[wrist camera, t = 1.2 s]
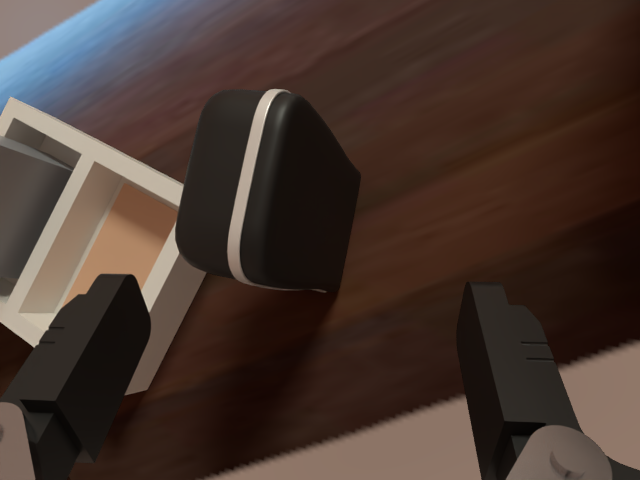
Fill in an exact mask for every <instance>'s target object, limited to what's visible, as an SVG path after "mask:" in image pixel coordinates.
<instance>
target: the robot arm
mask: <svg viewBox="0 0 640 480" xmlns="http://www.w3.org/2000/svg"><path fill="white" fill-rule="evenodd" d="M150 333H151V318H150V315H149V312H148V309H147V306H146V304H145V301H144V298H143V295H142V292H141V290H140V287H139V284H138V281H137V279H136V277H135V276H134V275H132V274H100V275H98V276H97V277H96V279H95V280H94V282H93V284H92V285H91V287H90V288H89V290H88V291H87V293H86V294H78V295H77V296H76V297H74V298H73V299H72V300H71V301H70V302H68V303H67V304H66V305H65V306H63V307H62V308H61V309H60V310H59V312H58V313H57V315H56V316H55V318H54V319H53V321H52V322H51V324H50V325H49V329H48V330H46V331H45V333H44V334H43V336H42V337H41V339H40V340H39V345H36V346H35V348H34V349H33V351H32V352H31V354H30V355H29V357H28V358H27V360H26V361H25V363H24V364H23V366H22V367H21V369H20V370H19V372H18V373H17V375H16V376H15V378H14V379H13V381H12V382H11V384H10V385H9V387H8V388H7V390H6V391H5V393H4V394H3V396H2V397H1V398H0V480H70V478H69V474H70V472H71V470H72V468H73V465H74V463H75V462H83V463H95V461H96V459H97V456H98V454H99V452H100V449H101V447H102V445H103V443H104V440H105V438H106V436H107V434H108V431H109V429H110V427H111V425H112V422H113V420H114V418H115V416H116V413H117V411H118V409H119V407H120V404H121V402H122V400H123V398H124V395H125V393H126V391H127V389H128V386H129V384H130V382H131V379H132V377H133V375H134V373H135V370H136V368H137V366H138V364H139V361H140V359H141V357H142V355H143V352H144V350H145V348H146V346H147V343H148V341H149V338H150ZM457 351H458V357H459V362H460V367H461V373H462V378H463V383H464V388H465V394H466V399H467V404H468V410H469V415H470V420H471V425H472V431H473V436H474V441H475V446H476V452H477V457H478V462H479V468H480V473H481V479H482V480H640V471H639V470H637V469H634V468H631V467H628V466H625V465H623V464H620V463H618V462H616V461H614V460H612V459H611V458H609V457H608V456H606V455H605V454H604V452H603V451H602V450H601V448H600V447H599V446H598V445H597V444H596V443H595V442H594V441H593V440H591V439H590V438H589V437H587V436H586V435H584V433H583V432H582V430H581V428H580V426H579V424H578V421H577V419H576V416H575V413H574V411H573V408H572V405H571V403H570V400H569V397H568V395H567V392H566V389H565V387H564V384H563V381H562V379H561V376H560V373H559V371H558V368H557V366H556V363H554V358H553V355H552V352H551V350H550V347H549V346H548V342H547V339H546V336H545V334H544V331H543V328H542V326H541V323H540V322H539V321H538V320H537V319H536V317H535V316H534V315H533V314H532V313H531V312H530V311H529V310H528V309H527V308H526V307H525V305H509V304H508V301H507V298H506V295H505V291H504V288H503V286H502V284H501V283H500V282H467V283H466V285H465V289H464V294H463V299H462V304H461V309H460V314H459V319H458V324H457Z"/></svg>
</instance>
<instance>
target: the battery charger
mask: <svg viewBox="0 0 640 480" xmlns="http://www.w3.org/2000/svg"><path fill="white" fill-rule="evenodd" d="M360 180H361V174H360V172H359V171H358V170H357V169H356V168H355V167H354V165H353V164H352V163H351V161H350V160H349V159H348V157H347V156H346V154H345V152H344V151H343V149H342V147H341V146H340V144H339V143H338V141H337V139H336V138H335V136H334V135H333V133H332V132H331V130H330V129H329V127H328V126H327V125H326V123H325V122H324V120H323V119H322V118H321V117H320V115H319V114H318V113H317V112H316V110H315V109H314V108H313V107H312V106H311V104H310V103H309V102H308V101H307V100H305V99H304V98H303V97H301V96H300V95H298V94H292V93H290V92H289V91H287V90H280V89H272V90H269V91H255V90H223V91H220V92H218V93H216V94H215V95H213V96H212V97H211V98H210V99H209V100H208V101H207V103H206V104H205V106H204V108H203V110H202V112H201V115H200V119H199V122H198V126H197V130H196V134H195V138H194V143H193V147H192V151H191V155H190V159H189V163H188V167H187V172H186V177H185V181H184V186H183V191H182V196H181V200H180V205H179V210H178V214H177V220H176V226H175V241H176V244H177V248H178V250H179V253H180V255H181V256H182V257H183V258H184V260H185V261H186V262H187V263H189V264H190V265H191V266H193V267H195V268H197V269H199V270H201V271H204V272H207V273H210V274H214V275H218V276H222V277H227V278H232V279H237V280H238V281H240V282H242V283H244V284H249V285H253V286H258V287H263V288H268V289H275V290H316V291H319V292H324V293H325V292H327V291H328V292H336V291H337V290H338V289H339V286H340V282H341V277H342V272H343V267H344V262H345V257H346V252H347V247H348V242H349V237H350V232H351V227H352V222H353V217H354V211H355V206H356V201H357V196H358V190H359V185H360Z"/></svg>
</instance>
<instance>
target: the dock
mask: <svg viewBox="0 0 640 480" xmlns="http://www.w3.org/2000/svg"><path fill="white" fill-rule="evenodd" d="M183 186H184V184H182V183H180V182H178V181H176V180H174V179H172V178H170V177H168V176H167V175H165V174H163V173H161V172H159V171H157V170H155V169H153V168H151V167H149V166H147V165H145V164H143V163H142V162H140V161H138V160H136V159H134V158H132V157H130V156H128V155H126V154H124V153H122V152H120V151H118V150H117V149H115V148H113V147H111V146H109V145H107V144H105V143H103V142H101V141H99V140H97V139H95V138H93V137H92V136H90V135H88V134H86V133H84V132H82V131H80V130H78V129H76V128H74V127H72V126H70V125H68V124H66V123H65V122H63V121H61V120H59V119H57V118H55V117H53V116H51V115H48V114H46V113H44V112H42V111H40V110H38V109H36V108H34V107H32V106H29V105H27V104H25V103H23V102H21V101H19V100H17V99H15V98H13V97H10V98H9V100H8V102H7V104H6V106H5V108H4V110H3V112H2V114H1V116H0V322H1V323H2V324H4V325H5V326H6V327H8V328H9V329H10V330H12V331H13V332H14V333H16V334H17V335H18V336H20V337H21V338H22V339H24V340H25V341H26V342H28V343H29V344H30V345H32V346H33V347H34V348H35V346H36V345H39V340H40V339H41V337H42V336H43V334H44V333H45V331H46V330H48V329H49V325H50V324H51V322H52V321H53V319H54V318H55V316H56V315H57V313H58V312H59V310H60V309H61V308H62V307H63V306H65V305H66V304H67V303H68V302H70V301H71V300H72V299H73V298H74V297H76V296H77V295H78V294H86V293H87V291H88V290H89V288H90V287H91V285H92V284H93V282H94V280H95V279H96V277H97V276H98V275H100V274H132V275H134V276H135V277H136V279H137V281H138V284H139V287H140V290H141V292H142V295H143V298H144V301H145V304H146V306H147V309H148V312H149V315H150V318H151V333H150V338H149V341H148V343H147V346H146V348H145V350H144V352H143V355H142V357H141V359H140V361H139V364H138V366H137V368H136V370H135V373H134V375H133V377H132V379H131V382H130V384H129V386H128V389H127V391H126V393H125V395H128V394H133V393H137V392H141V391H145V390H148V388H149V386H150V384H151V382H152V380H153V378H154V376H155V374H156V372H157V370H158V368H159V366H160V364H161V362H162V360H163V358H164V356H165V354H166V352H167V350H168V348H169V346H170V344H171V342H172V340H173V338H174V336H175V334H176V332H177V330H178V328H179V326H180V324H181V322H182V320H183V318H184V316H185V314H186V312H187V310H188V309H189V307H190V305H191V303H192V301H193V299H194V297H195V295H196V293H197V291H198V289H199V287H200V285H201V283H202V281H203V279H204V277H205V275H206V273H207V272H204V271H201V270H199V269H197V268H195V267H193V266H191V265H190V264H189V263H187V262H186V261H185V260H184V258H183V257H182V256H181V255H180V253H179V250H178V248H177V244H176V241H175V226H176V220H177V214H178V210H179V205H180V200H181V196H182V191H183Z"/></svg>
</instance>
